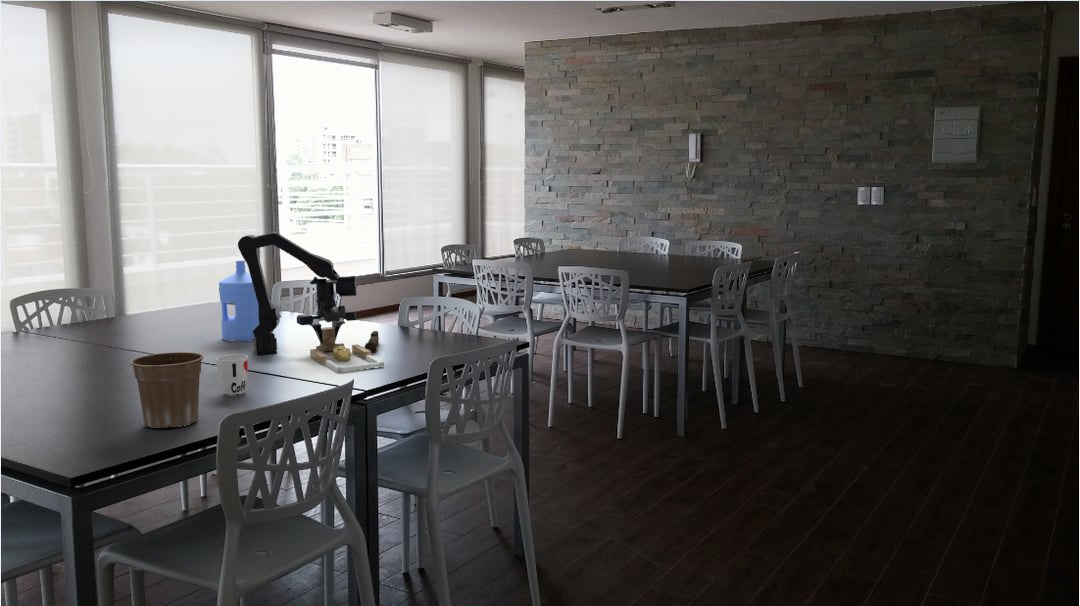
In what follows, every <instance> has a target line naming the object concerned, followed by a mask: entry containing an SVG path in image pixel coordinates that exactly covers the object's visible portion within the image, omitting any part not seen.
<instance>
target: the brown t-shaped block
mask: <svg viewBox="0 0 1080 606" xmlns="http://www.w3.org/2000/svg"><path fill="white" fill-rule="evenodd" d="M321 333H322V344H321V343H320V342H319V345H316V348H315V349H317V350H319V351H320V352H322V353H324V352H330V351H331V352H333V347H335V346H345V343H343V342H339V343H336V341H335V329H334V328H332V326H325V327H321Z"/></svg>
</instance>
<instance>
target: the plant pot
mask: <svg viewBox="0 0 1080 606" xmlns="http://www.w3.org/2000/svg"><path fill="white" fill-rule="evenodd" d="M203 359H204V355H203V354H201V353H199V352H189V351H188V352H187V351H186V352H184V351H183V352H181V351H180V352H179V351H177V352H176V351H175V352H163V353H162V352H161V353H154V354H153V353H152V354H147V355H142V356H138V357H136V358H133V359H131V360H130V365H131V366H132V368H133V374H134V377H135V379H136V381H137V387H138V392H139V399H140V405H141V406H140V407H141V412H142V418H143V425H144V426H145V427H146V426H148V427H152V428H167V429H168V428H173V427H179V426H184V425H188V424H191V423H194V422H196V421H197V420H198V421H199V403H200V402H199V401H200V397H199V396H200V376H201V373H202V362H203V361H202V360H203ZM198 421H197V422H198ZM197 422H196V423H197ZM194 424H195V423H194Z"/></svg>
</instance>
